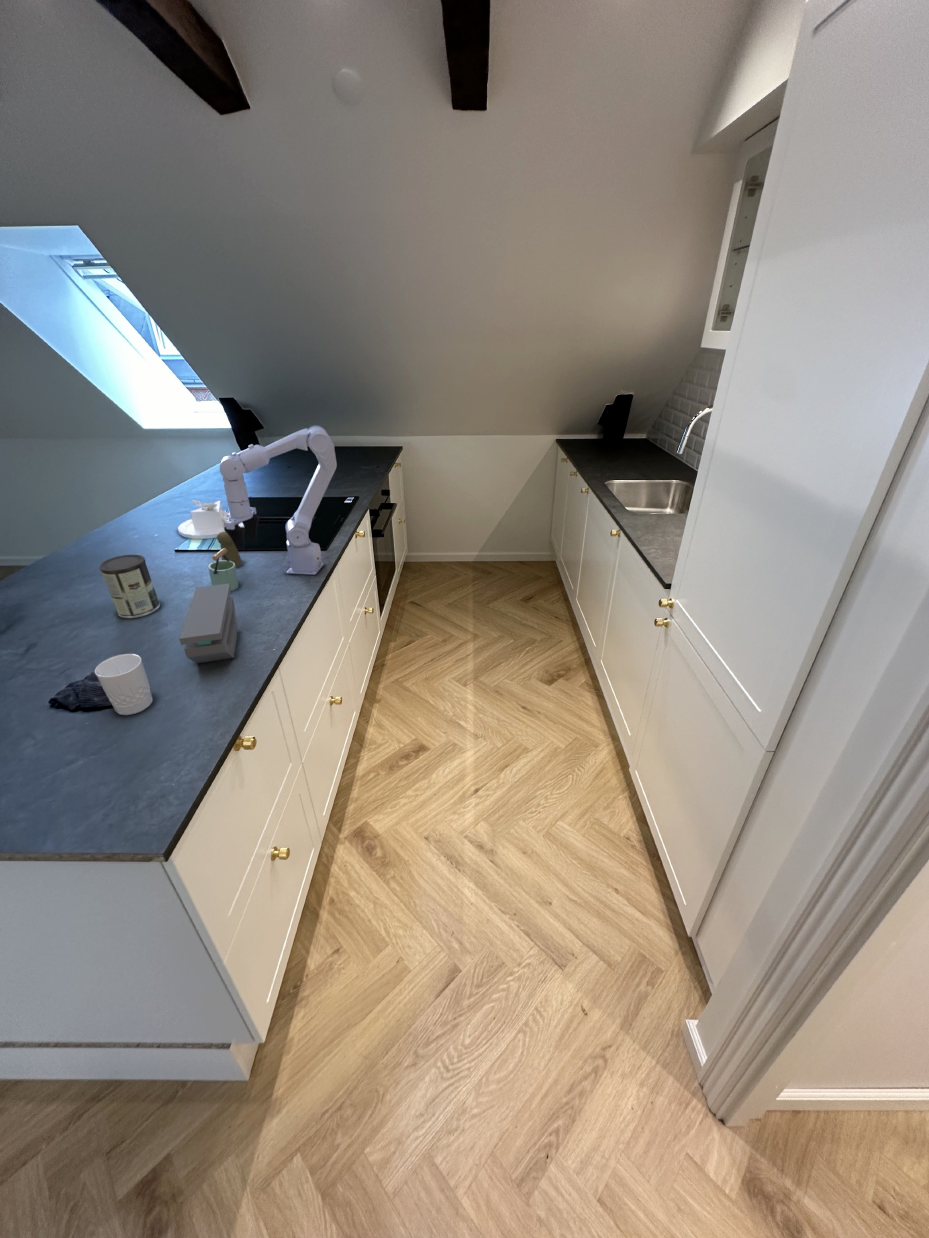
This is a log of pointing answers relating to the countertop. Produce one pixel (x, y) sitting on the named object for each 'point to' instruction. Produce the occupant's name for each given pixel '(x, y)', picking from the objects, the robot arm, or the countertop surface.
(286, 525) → the robot arm
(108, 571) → the coffee can
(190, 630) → the grey box
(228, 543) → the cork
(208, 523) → the dish
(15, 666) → the countertop surface
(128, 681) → the white cup
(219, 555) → the bucket
